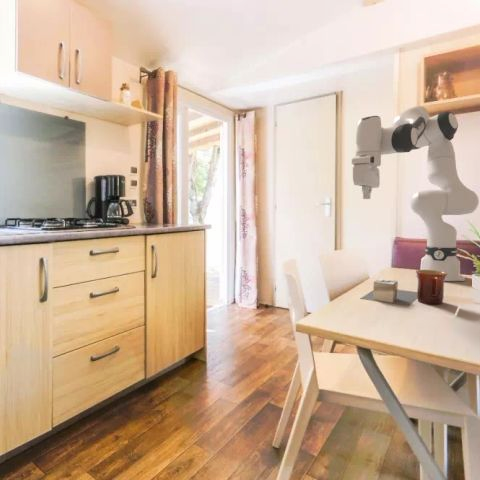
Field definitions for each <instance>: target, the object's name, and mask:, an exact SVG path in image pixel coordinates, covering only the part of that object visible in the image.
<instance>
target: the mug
mask: <svg viewBox="0 0 480 480" xmlns="http://www.w3.org/2000/svg"><path fill="white" fill-rule="evenodd" d="M415 273H416V274H417V276H416V277H417V291H416V292H417V302H419V303H420V304H424V305H430V306H431V305H432V306H439V305H443V301H444V298H445V297H444V293H445V288H444V286H445V282H446V281H445V278H446V276H447V273H446V272H442V271H435V270H420V269H418V270H415ZM416 274H415V275H416Z"/></svg>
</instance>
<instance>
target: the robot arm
mask: <svg viewBox="0 0 480 480" xmlns="http://www.w3.org/2000/svg"><path fill="white" fill-rule="evenodd" d="M458 128H459V123H458V119H457V117H456V115H455V114H454V113H453V112H451V111H448V110H447V111H442V112H440V113H438V114H436V115H434V116H430V112H429V110H427V108H425V107H424V106H420V105H419V106H412V107H410V108H408V109H406V110H403V111H402V112H400V113H399V114H398V115H397V116H396V117H394V120H393V122H392V126H389V127H385V128H384V127H383V126H382V120H381V116H378V115H372V116H366V117H362V118H360V119H359V120H358V122H357V126H356V134H355V144H356V150H355V156H354V157H352V159H351V165H352V166H353V167H352V180H353V181H352V182H353V185H354V186H359V187H361V192H362V199H363V200H370V199H371V195H372V191H373V189H378V188H379V187H380V185H381V184H380V183H381V182H380V179H381V178H380V169H379V168H378V167H380V166H381V163H382V159H381V158H382V156H383V155H384V156H385V155H390V154H391V155H392V154H398V153H399V154H400V153H401V154H402V153H410V152H411V151H413V150H415V151H416V150H419V149H421V148H424V147H428V149H427V157H426V164H427V165H426V167H427V168H426V170H427V179H428V181H429V183H431V184H432V185H434V186H435V187H436V186H437V187H438V188H440V189H425V190H420V191H416V192H414V194H413V195H412V197H411V199H410V202H409V204H410V208H411V210H412V211H413V213H415V214H416V215H417V216H419V217H420V218H421V220H422V221H423V223H424V225H425V228H426V246H425V248H424V252H425V255H424V256H423V257H422V258H421V261H420V269H419V270H435V271H442V272H446V273H447V276H446V278H445V281H444V282H465V281H466V278H465V277H464V276H463V274H461V272H462V270H461V261H460V260H459V259H458V258H457V255H458V247H457V229H456V227H455V226H453V225H452V224H451V223H448V222H446V221H444V220H443V216H448V215H449V216H463V215H469V214H473V213H474V212H475V211H476V210H477V208H478V206H479V203H480V202H479V200H480V199H479V196H478V194H477V193H476V192H475V191H474V190H471V189H470V188H469V187H467V185H464V183H463V182H462V181H461V180H460V178H459V176H458V171H457V162H456V154H455V153H456V152H455V150H454V149H455V148H454V146H453V143H452V140H453V139H454V137H455V134H456V132H457V131H458ZM415 276H416V277H417V274H415Z"/></svg>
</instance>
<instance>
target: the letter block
mask: <svg viewBox="0 0 480 480" xmlns="http://www.w3.org/2000/svg"><path fill="white" fill-rule="evenodd" d="M398 285H399V281H398V280H391V279H382V278H378V279H376V280H374V281H373V290H372V291H373V300H380V301H386V302H394V301H395V300H396V299H397V290H399V289H398V287H399V286H398Z"/></svg>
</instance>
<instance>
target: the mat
mask: <svg viewBox="0 0 480 480" xmlns="http://www.w3.org/2000/svg"><path fill="white" fill-rule="evenodd" d="M359 299H360V300H366V301H373V302H378V303H379V302H380V303H386V304H390V305H398V306H405V307H410V306H411V305H413V303H414V302H415V301H416V299H417V300H418V298H417V291H410V290H403V289H397V299H396V300H395V301H394V302H386V301H380V300H373V290H372V291H370V292H367V294H365V295H363V296H362V297H360V298H359Z"/></svg>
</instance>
